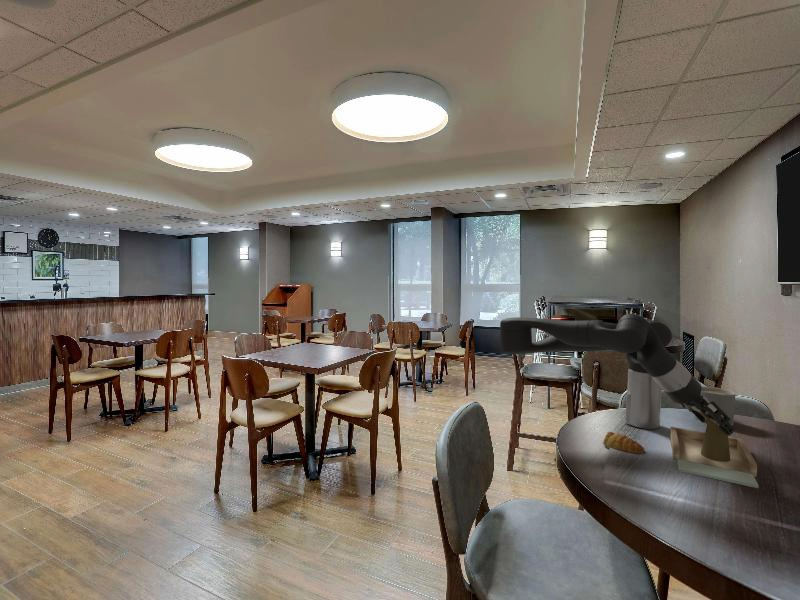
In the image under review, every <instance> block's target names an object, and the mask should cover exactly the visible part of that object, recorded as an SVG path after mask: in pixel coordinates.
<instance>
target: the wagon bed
mask: <svg viewBox="0 0 800 600" xmlns="http://www.w3.org/2000/svg"><path fill="white" fill-rule="evenodd" d="M705 432H706V431H705ZM705 432H704V431H699V430H698V431H697V430H693V429H692V430H691V429H687V428H686V429H685V428H680V427H675V426H670V435H669V438H670V446H671V453H672V460H673V461H677V459H680V460H685V461H690V462H695V463H700V464H705V465H710V466H715V467H720V468H724V469H729V470H734V471H739V472H744V473H749V474H753V476H754V478H756V477H757V474H758V473H757V472H758V464H757V461H756V459H754V457H753V455H752V453H751V452H750V450H749V449H748V447H747V445H746V442H744V439H743V438H739V437H733V436H728V440H729V450H730V461H728V462H721V461H716V460H712V459H709V458H706V457H704V456H702V455H701V449H702V445H703V441H704V436H705Z"/></svg>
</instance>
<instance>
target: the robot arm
mask: <svg viewBox="0 0 800 600" xmlns="http://www.w3.org/2000/svg"><path fill="white" fill-rule="evenodd" d="M532 329H537V330H540V331H543V332H545V333H547V334H548V335H549V336H547V337H545V338H542V339H541V340H537V341H534V342H533V340H532V339H533V336H532ZM499 331H500V332H499V334H500V350H501V352H502V353H504V354H507V355H528V354H529V355H530V354H536V353H537V354H538V353H540V354H542V353H550V352H551V353H553V352H562V353H563V352H568V353H569V352H571V353H572V352H574V353H575V352H577V353H578V352H583V353H584V352H597V351H598V352H599V351H600V352H601V351H602V352H603V351H612V352H613V351H614V352H617V353H622V354H625V357H626V361H627V364H628V365H627V366H628V367H627V368H628V370H627V371H628V372H627V390H626V391H627V392H626V401H625V402H626V404H625V422H624V423H625V424H626V425H630V426H633V427H635V428H636V427H637V428H640V429H645V430H655V429H656V430H657V429H659V428H661V427H660V424H661V407H662V406H661V405H662V391H663V392H664V394H666V395H667V396H668V398H670V400H671V401H672V402H673V403H676V404H680V405H681V406H682V408H683V409H687V410H688V412H690V413H691V414H693V415H694V417H695V416H696V417H697V418H698V419H699V420H700V421H699V420H698V421H699V422H701V423H702V424H706V423H705V418H706V419H710V420H712V421H713V422H714V423H715V424H716V425H717V426H718V427H719V428H720V429H721V430H722V431H723V432H724V433H725V434H726V435H728V437H731V435H732V434H733V433H735V432H736V428H734V427H733V425H732V426H731V425H730V424H729V423H728V422H729V421H730V420H731V419H730V418H729V417H728V416H727V415H726V414H725V413H724V412H723V411H722V410H721V409H720V408H719V407H718V406H717V405H716V404H715V402H713V401H711V402H709V401H708V399H706V398H705V397H704V396H702V395H701V391H702V387H703V386H702V384H701V383H700V382H699V381H698V380H697V379H696V377H694V376H693V374H692V373H691V372H690V371H689V370H688V369H687V368H686V367H685V366H684V365H683V364H682V363H681V362H680V361H678V360H677V358H676V357H674V356H673V355H672V354H671V353H670V351H668V350H667V348H666V347H667V346H668V345H669V344H670V343H671V342H672V339H673V333H672V331H671V329H670V328H669V326H668V325H666V324H665V323H663V322H661V321H658V320H654V319H653V320H652V319H648V318H647V319H646V318H645V317H643V316H642V315H639V314H635V313H627V314H624V315H622V316H621V317H620V318H619V320H618V322H617V323H613V322H604V321H603V320H599V319H598V320H596V319H590V320H584V319H583V320H561V319H550V318H539V317H520V316H519V317H518V316H516V317H508V318H507V317H506V318H504V319H501V321H500V324H499ZM705 412H707V413H709V414H706V413H705Z"/></svg>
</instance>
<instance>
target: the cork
mask: <svg viewBox="0 0 800 600" xmlns="http://www.w3.org/2000/svg"><path fill="white" fill-rule="evenodd" d="M707 414H709V413H707ZM728 423H729V424H731V421H729V422H728ZM704 424H706V428H705V436H704V441H703V445H702V449H701V455H702V456H704V457H706V458H709V459H712V460H716V461H721V462H728V461H730V450H729V440H728V437H729V436H728V435H726V434H725V433H724V432H723V431H722V430H721V429H720V428H719V427H718V426H717V425H716V424H715V423H714V422H713V421H712V420H710V419H706V418H705V423H704Z"/></svg>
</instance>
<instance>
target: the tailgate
mask: <svg viewBox="0 0 800 600" xmlns="http://www.w3.org/2000/svg"><path fill="white" fill-rule="evenodd" d="M676 462H677V463H676V464H677V470H678V472H681V473H686V474H691V475H696V476H700V477H704V478H709V479H712V480H713V479H714V480H719V481H724V482H727V483H733V484H737V485H742V486H747V487H751V488H755V489H759V484H758V481H757V479H756V477H755V476H753V474H749V473H744V472H739V471H734V470H729V469H724V468H720V467H715V466H710V465H705V464H700V463H695V462H690V461H685V460H680V459H677V460H676Z"/></svg>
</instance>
